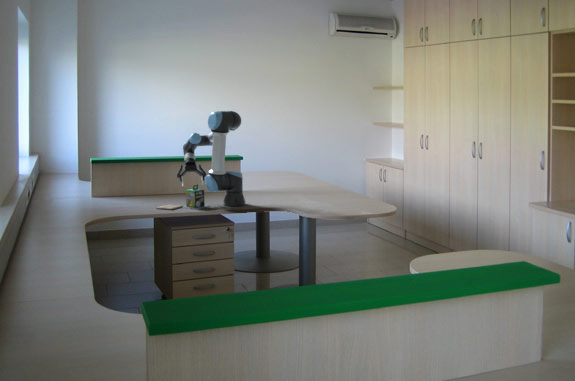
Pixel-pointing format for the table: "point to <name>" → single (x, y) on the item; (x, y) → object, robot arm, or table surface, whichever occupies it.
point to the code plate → (196, 207)
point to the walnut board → (169, 207)
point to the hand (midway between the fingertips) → (192, 184)
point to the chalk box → (195, 197)
